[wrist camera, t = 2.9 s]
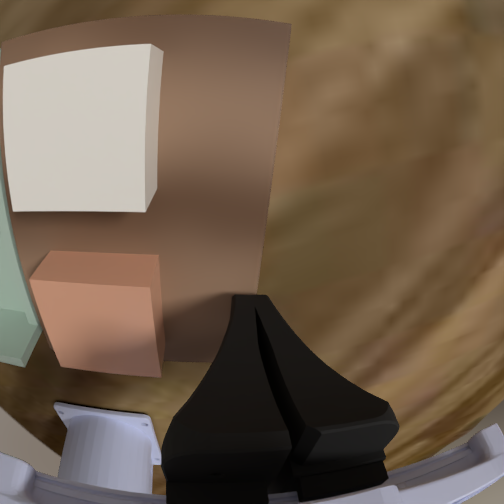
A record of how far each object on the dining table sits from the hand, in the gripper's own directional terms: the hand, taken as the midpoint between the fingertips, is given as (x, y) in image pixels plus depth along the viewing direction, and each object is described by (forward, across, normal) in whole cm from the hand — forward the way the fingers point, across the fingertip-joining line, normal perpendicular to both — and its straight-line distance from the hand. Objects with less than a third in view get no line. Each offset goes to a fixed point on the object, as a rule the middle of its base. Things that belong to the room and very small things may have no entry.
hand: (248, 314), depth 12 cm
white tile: (0, +6, -7) cm, 9 cm away
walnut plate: (+3, +5, -4) cm, 7 cm away
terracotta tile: (0, +6, 0) cm, 6 cm away
